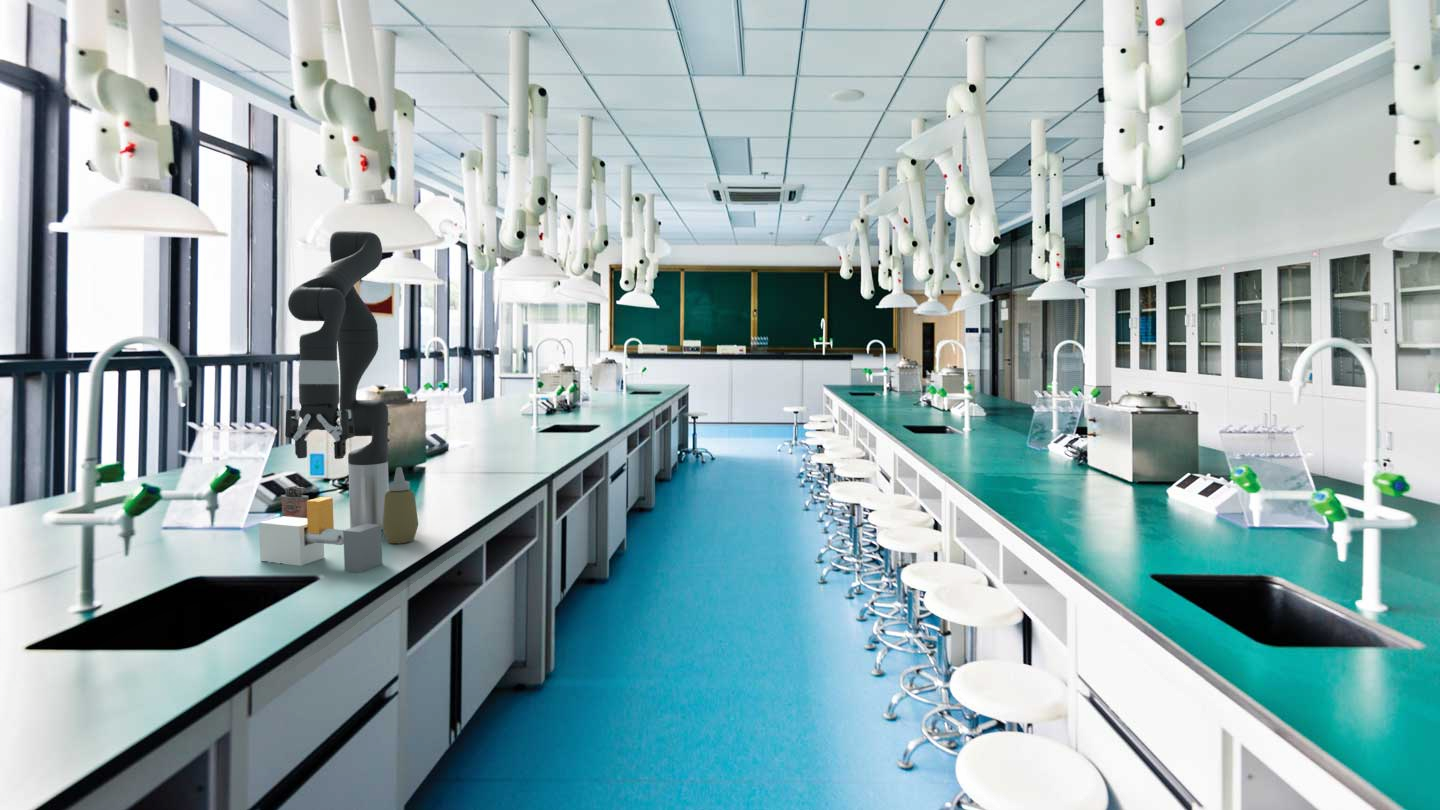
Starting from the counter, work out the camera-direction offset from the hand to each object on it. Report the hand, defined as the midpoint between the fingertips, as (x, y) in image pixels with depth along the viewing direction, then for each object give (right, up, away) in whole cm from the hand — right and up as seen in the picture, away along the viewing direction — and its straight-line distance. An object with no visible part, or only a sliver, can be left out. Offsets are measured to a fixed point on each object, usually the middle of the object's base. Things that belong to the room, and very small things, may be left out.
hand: (320, 458), depth 157 cm
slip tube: (-5, -19, +4) cm, 20 cm away
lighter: (-27, -20, +38) cm, 51 cm away
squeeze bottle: (+8, -22, +22) cm, 32 cm away
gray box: (+9, -23, +1) cm, 25 cm away
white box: (-9, -23, +6) cm, 25 cm away
